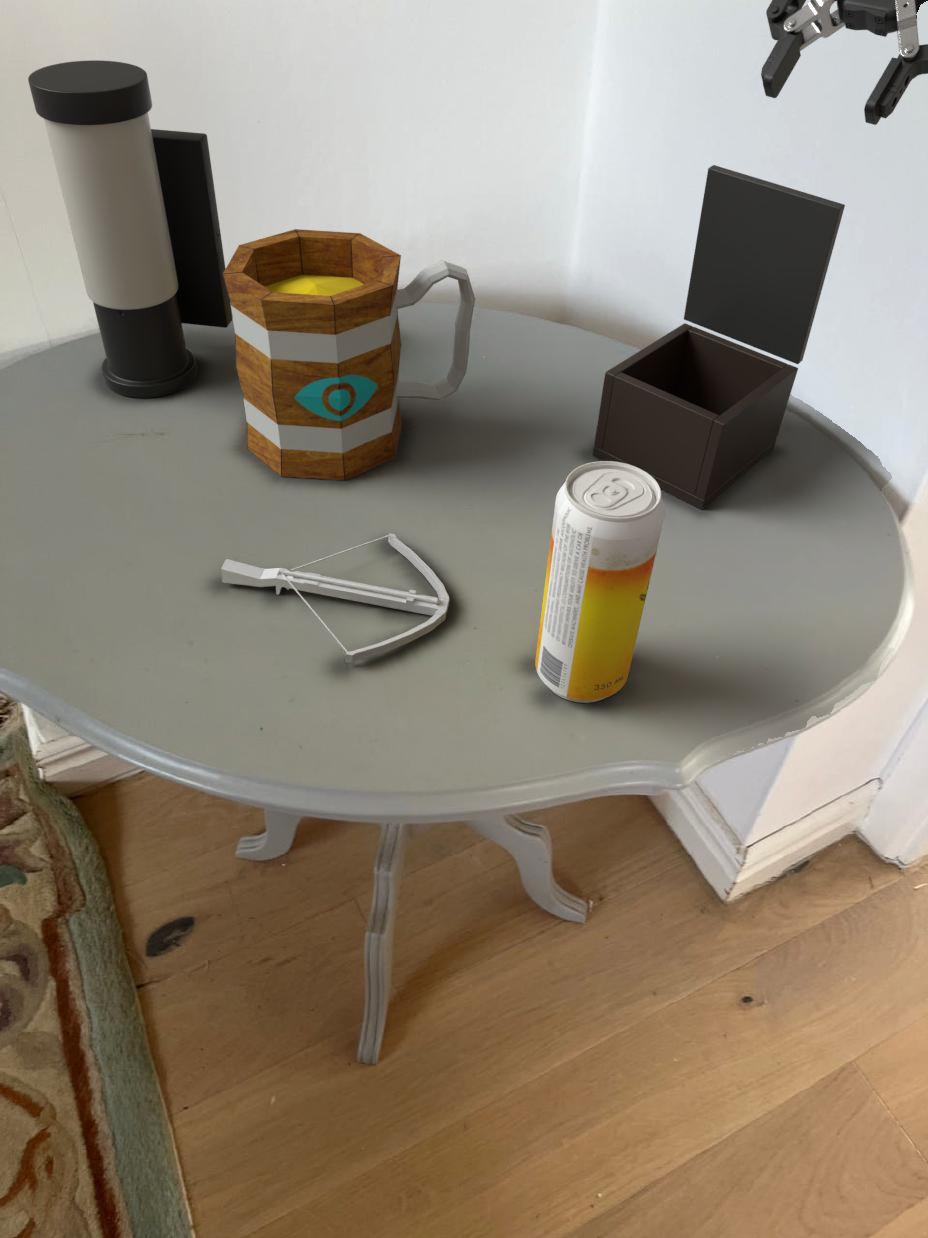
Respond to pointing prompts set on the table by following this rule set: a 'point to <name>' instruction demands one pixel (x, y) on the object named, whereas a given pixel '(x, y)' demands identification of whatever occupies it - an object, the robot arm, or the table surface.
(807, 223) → the lid
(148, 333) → the light fixture
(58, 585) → the table surface
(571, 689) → the beer can
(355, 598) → the crossbow
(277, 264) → the mug
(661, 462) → the hinged brown box
